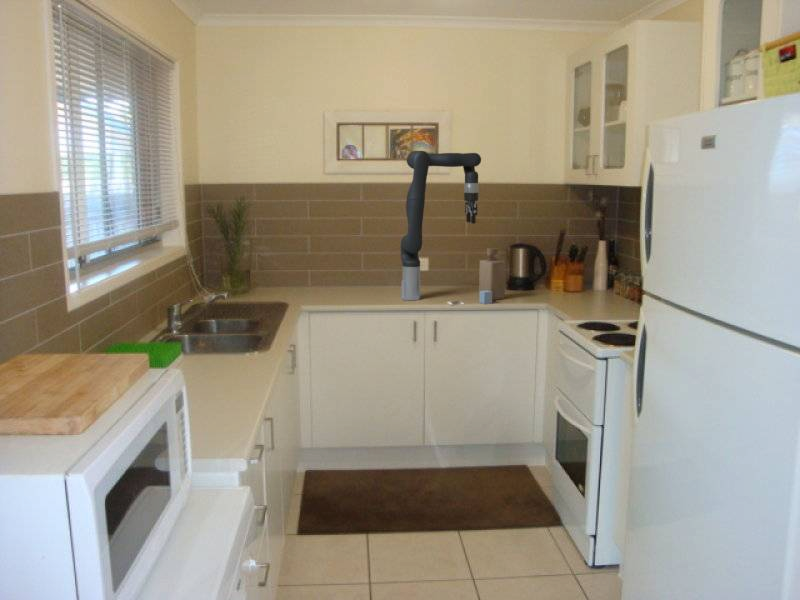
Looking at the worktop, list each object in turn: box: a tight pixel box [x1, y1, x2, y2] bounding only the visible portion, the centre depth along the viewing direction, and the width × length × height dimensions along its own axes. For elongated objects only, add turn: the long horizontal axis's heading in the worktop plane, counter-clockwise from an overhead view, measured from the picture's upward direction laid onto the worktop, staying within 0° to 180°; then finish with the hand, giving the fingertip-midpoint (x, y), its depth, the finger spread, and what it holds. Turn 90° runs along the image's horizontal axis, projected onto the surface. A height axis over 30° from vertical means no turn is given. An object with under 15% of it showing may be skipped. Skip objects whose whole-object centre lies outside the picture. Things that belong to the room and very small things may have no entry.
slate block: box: [478, 290, 493, 305], centre depth 353 cm, size 4×4×6 cm
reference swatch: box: [446, 300, 465, 306], centre depth 353 cm, size 7×7×1 cm
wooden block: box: [478, 259, 507, 301], centre depth 364 cm, size 10×10×20 cm
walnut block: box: [486, 247, 499, 261], centre depth 362 cm, size 4×4×6 cm
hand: (470, 222), depth 373 cm, fingers open, 8 cm apart
